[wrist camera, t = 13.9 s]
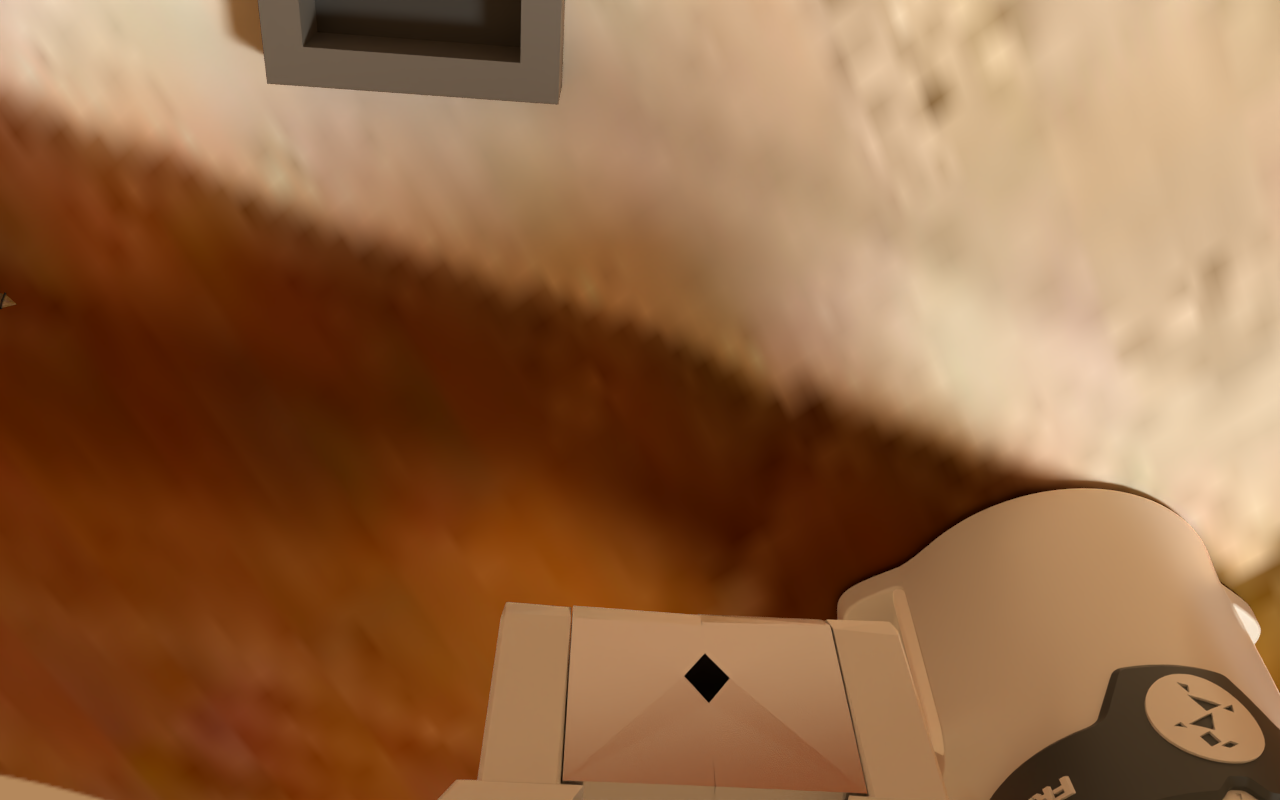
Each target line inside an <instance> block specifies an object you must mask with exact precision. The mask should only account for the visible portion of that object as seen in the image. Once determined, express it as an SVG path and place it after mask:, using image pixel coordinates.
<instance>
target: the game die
mask: <svg viewBox="0 0 1280 800" xmlns="http://www.w3.org/2000/svg"><path fill="white" fill-rule="evenodd" d="M12 305H17V304H16V303H14V302H13V301H12V300H11V299H10V298H9V297H8V296H7V295H6V293H4V294H2V293H0V309H2V308H3V307H8V306H12Z"/></svg>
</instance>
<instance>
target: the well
mask: <svg viewBox="0 0 1280 800" xmlns="http://www.w3.org/2000/svg"><path fill="white" fill-rule="evenodd" d="M258 7H259V16H260V24H261V33H262V42H263V51H264V60H265V68H266V77H267V84H280V85H294V86H308V87H322V88H336V89H350V90H364V91H378V92H391V93H405V94H419V95H433V96H447V97H461V98H475V99H489V100H502V101H516V102H530V103H544V104H558V103H559V98H560V93H561V87H562V65H563V37H564V9H565V0H258Z"/></svg>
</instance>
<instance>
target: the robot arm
mask: <svg viewBox="0 0 1280 800" xmlns="http://www.w3.org/2000/svg"><path fill="white" fill-rule="evenodd" d="M570 624H571V607H560V606H548V605H536V604H525V603H513V602H506V605H505V608H504V610H503V613H502V616H501V620H500V627H499V634H498V641H497V648H496V655H495V662H494V669H493V676H492V683H491V689H490V696H489V703H488V710H487V717H486V724H485V731H484V738H483V745H482V752H481V759H480V766H479V772H478V779H477V780H456V781H455V782H454V783H453V784H452V785H451V786H450V787H449V788H448V789H447V790H446V791H445V792H444V793H443V794H442V795H441V797H440V798H439V799H438V800H1280V693H1279V691H1278V689H1277V687H1276V685H1275V683H1274V681H1273V680H1272V678H1271V676H1270V674H1269V672H1268V670H1267V668H1266V666H1265V664H1264V662H1263V660H1262V659H1261V657H1260V655H1259V653H1258V651H1257V649H1256V647H1255V645H1254V644H1255V643H1256V642H1257V640H1258V638H1259V636H1260V632H1261V629H1260V625H1259V623H1258V621H1257V619H1256V617H1255V615H1254V613H1253V612H1252V610H1251V608H1250V607H1249V605H1248V604H1247V603H1246V602H1245V601H1244V600H1242V599H1241V598H1240V597H1239V596H1237V595H1236V594H1235V593H1234V592H1232V591H1231V590H1229V589H1228V588H1227V587H1225V586H1224V585H1222V584H1221V582H1220V581H1219V579H1218V577H1217V574H1216V572H1215V569H1214V567H1213V564H1212V562H1211V559H1210V556H1209V553H1208V551H1207V549H1206V547H1205V545H1204V543H1203V541H1202V540H1201V538H1200V537H1199V535H1198V534H1197V533H1196V531H1195V530H1194V529H1193V528H1192V527H1191V526H1190V525H1189V524H1188V523H1187V522H1186V521H1185V520H1184V519H1182V518H1181V517H1180V516H1179V515H1177V514H1176V513H1174V512H1173V511H1171V510H1170V509H1168V508H1166V507H1164V506H1163V505H1161V504H1158V503H1156V502H1154V501H1152V500H1149V499H1146V498H1144V497H1140V496H1137V495H1134V494H1130V493H1125V492H1120V491H1114V490H1107V489H1093V488H1075V489H1060V490H1052V491H1045V492H1040V493H1035V494H1030V495H1026V496H1022V497H1018V498H1015V499H1012V500H1009V501H1005V502H1003V503H1000V504H997V505H995V506H992V507H990V508H987V509H985V510H983V511H980V512H978V513H976V514H974V515H972V516H970V517H969V518H967V519H965V520H963V521H961V522H960V523H958V524H956V525H955V526H953V527H952V528H950V529H949V530H947V531H946V532H944V533H943V534H942V535H940V536H939V537H938V538H936V539H935V540H934V541H933V542H932V543H930V544H929V545H928V546H927V547H925V548H924V549H923V550H922V551H921V552H919V553H918V554H917V555H916V556H915V557H913V558H912V559H910V560H909V561H908V562H906V563H905V564H903V565H901V566H900V567H898V568H895V569H892V570H889V571H887V572H884V573H882V574H879V575H876V576H874V577H871V578H869V579H867V580H865V581H862V582H860V583H858V584H856V585H854V586H852V587H851V588H849V589H848V590H847V591H845V592H844V593H843V594H842V595H841V597H840V599H839V601H838V605H837V620H830V619H826V620H825V621H822V620H820V619H796V618H772V617H748V616H724V615H700V614H698V615H690V614H677V613H663V612H650V611H637V610H623V609H610V608H596V607H583V606H573V613H572V625H571V640H570ZM569 645H570V655H569ZM568 666H569V670H568Z"/></svg>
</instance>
